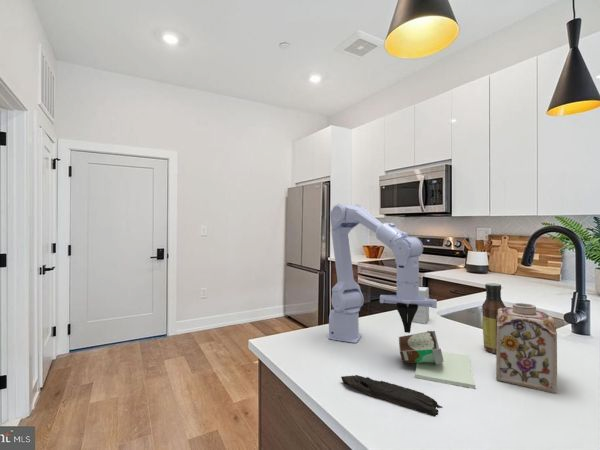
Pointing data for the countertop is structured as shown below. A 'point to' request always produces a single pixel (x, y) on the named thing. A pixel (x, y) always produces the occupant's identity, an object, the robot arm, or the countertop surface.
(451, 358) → the board
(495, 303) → the sauce bottle
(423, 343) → the food container
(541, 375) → the decorative jar
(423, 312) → the supplement box
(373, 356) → the countertop surface
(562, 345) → the countertop surface
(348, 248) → the robot arm
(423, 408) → the wood
